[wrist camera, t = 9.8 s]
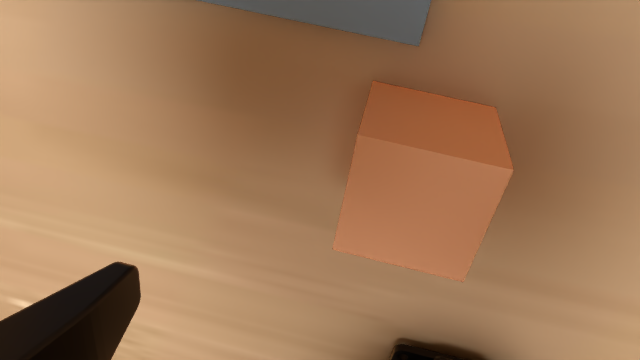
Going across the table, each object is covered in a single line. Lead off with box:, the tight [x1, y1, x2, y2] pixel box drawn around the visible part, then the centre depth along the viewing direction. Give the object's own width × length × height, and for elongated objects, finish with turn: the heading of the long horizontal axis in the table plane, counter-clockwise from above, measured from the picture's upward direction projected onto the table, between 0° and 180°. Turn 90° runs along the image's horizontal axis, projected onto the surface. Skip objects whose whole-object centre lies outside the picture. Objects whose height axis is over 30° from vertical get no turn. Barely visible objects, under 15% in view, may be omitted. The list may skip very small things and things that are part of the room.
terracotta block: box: [333, 81, 514, 282], centre depth 16 cm, size 4×4×4 cm
